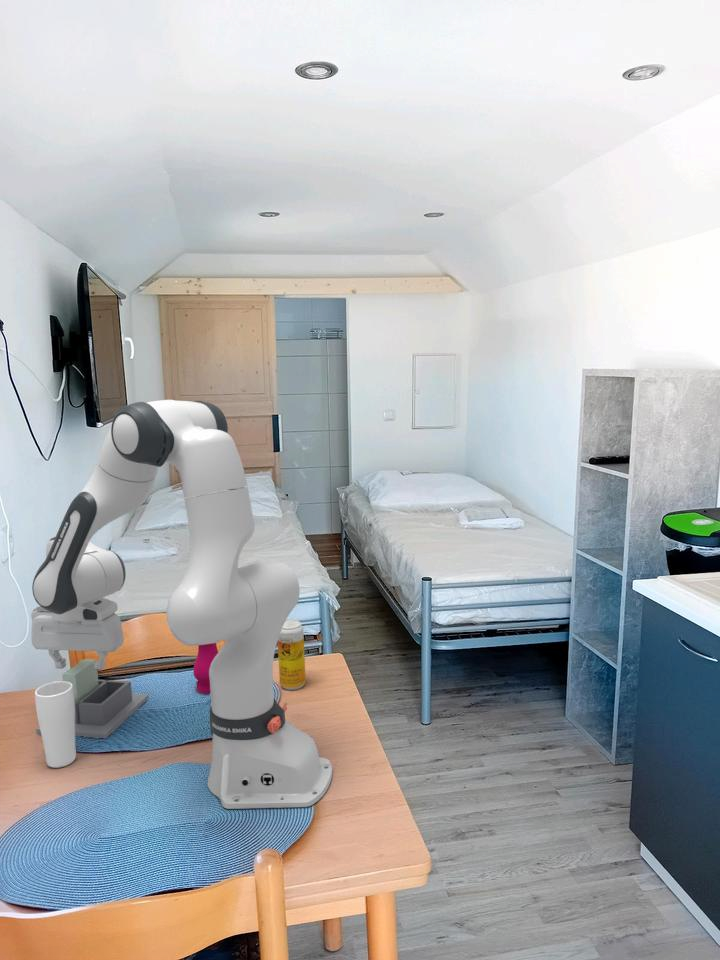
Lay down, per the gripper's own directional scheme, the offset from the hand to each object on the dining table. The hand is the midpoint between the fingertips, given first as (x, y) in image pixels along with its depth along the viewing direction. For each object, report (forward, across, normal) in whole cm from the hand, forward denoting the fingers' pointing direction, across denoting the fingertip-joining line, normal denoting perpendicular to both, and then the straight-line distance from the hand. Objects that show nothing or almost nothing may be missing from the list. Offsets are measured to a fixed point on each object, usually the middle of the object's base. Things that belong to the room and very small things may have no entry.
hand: (80, 668), depth 153 cm
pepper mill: (+11, +22, +16) cm, 30 cm away
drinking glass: (+11, +6, -18) cm, 22 cm away
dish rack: (+11, +2, 0) cm, 11 cm away
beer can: (+12, +41, +20) cm, 47 cm away
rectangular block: (+10, 0, 0) cm, 10 cm away
